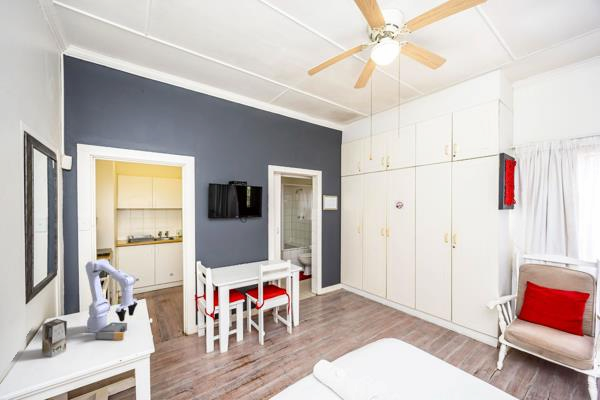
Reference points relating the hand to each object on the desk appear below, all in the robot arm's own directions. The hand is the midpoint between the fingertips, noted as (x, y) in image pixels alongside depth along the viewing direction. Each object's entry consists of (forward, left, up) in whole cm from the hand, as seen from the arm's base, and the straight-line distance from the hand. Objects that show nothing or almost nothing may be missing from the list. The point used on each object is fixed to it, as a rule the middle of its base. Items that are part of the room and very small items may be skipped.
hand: (126, 318), depth 150 cm
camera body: (-7, -1, -9) cm, 12 cm away
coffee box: (-24, -20, -10) cm, 33 cm away
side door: (-4, -7, -9) cm, 12 cm away
